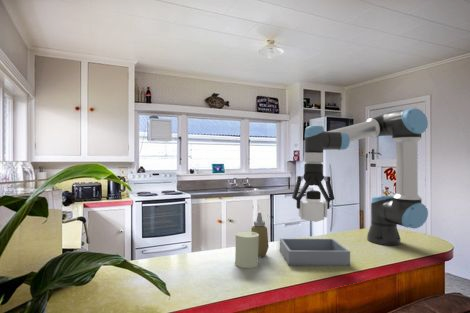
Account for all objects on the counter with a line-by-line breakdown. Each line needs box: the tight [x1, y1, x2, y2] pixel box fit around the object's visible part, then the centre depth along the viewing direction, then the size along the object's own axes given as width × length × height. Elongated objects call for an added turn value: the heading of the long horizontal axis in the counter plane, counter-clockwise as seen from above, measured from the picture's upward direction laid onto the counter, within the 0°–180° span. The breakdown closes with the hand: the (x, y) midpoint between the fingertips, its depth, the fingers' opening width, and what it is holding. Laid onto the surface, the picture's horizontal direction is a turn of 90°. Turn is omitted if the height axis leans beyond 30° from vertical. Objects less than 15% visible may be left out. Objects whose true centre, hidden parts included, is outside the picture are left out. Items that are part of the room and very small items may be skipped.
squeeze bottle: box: [250, 212, 270, 258], centre depth 126 cm, size 8×8×18 cm
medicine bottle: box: [300, 189, 325, 223], centre depth 124 cm, size 7×7×12 cm
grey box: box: [279, 238, 351, 267], centre depth 124 cm, size 24×18×6 cm
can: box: [234, 230, 259, 269], centre depth 116 cm, size 9×9×12 cm
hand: (312, 216), depth 124 cm, fingers closed on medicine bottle, 10 cm apart
